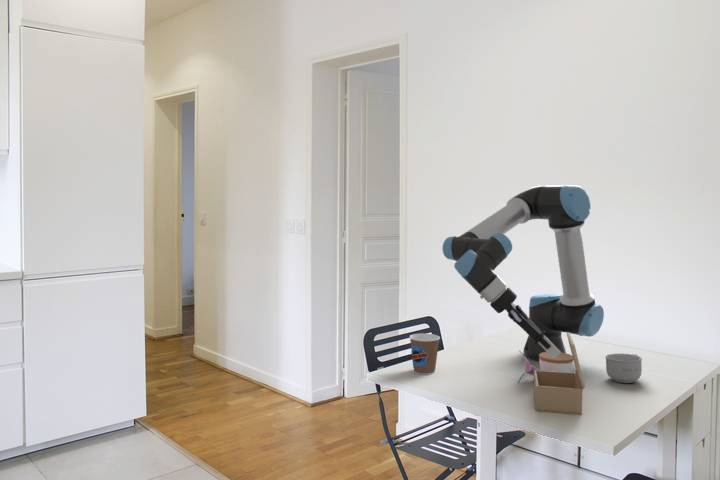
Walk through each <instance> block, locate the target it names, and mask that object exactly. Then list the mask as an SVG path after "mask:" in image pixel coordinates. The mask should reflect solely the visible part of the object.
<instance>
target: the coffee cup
mask: <svg viewBox="0 0 720 480" xmlns="http://www.w3.org/2000/svg"><path fill="white" fill-rule="evenodd" d="M408 338H409V340H410V347H411V348H410V349H411V352H410V353H411V359H412V360H411V361H412V368H413V371H414V373H415V374H418V375H432V374H434V373H435V371H436V366H437V360H438V359H437V358H438V350H439V345H440V344H439V343H440V339H441V337H440V336H439V335H437V334H432V333H414V334H410V335H409V337H408Z"/></svg>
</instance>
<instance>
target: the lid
mask: <svg viewBox="0 0 720 480" xmlns="http://www.w3.org/2000/svg"><path fill="white" fill-rule="evenodd" d="M565 334H566V337H567V341H568V344H569V348H570V353H571V355H572V357H573V365H574V368H575V371H574V373H576V375H577V378H578V381H579V383H580V386H581V388H582V389H583V390H584V389H585V388H586V385H585V381H584V377H583V373H582V369H581V365H580V362H579V358H578V354H577V350H576V346H575V343H574V340H573V338H572V336H571V334H570V333H569V332H566V333H565Z"/></svg>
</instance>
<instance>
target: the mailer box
mask: <svg viewBox="0 0 720 480" xmlns="http://www.w3.org/2000/svg"><path fill="white" fill-rule="evenodd" d="M583 390H584V389H582V388H581V386H580V383H579V381H578V378H577V375H576V373H575V372H571V373H568V372H553V371H541V370H539V371H537V370H534V375H533V396H534V397H533V398H534V404H535V411H536V412H545V413H556V414H557V413H558V414H567V415H569V414H571V415H583V392H584V391H583Z"/></svg>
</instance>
